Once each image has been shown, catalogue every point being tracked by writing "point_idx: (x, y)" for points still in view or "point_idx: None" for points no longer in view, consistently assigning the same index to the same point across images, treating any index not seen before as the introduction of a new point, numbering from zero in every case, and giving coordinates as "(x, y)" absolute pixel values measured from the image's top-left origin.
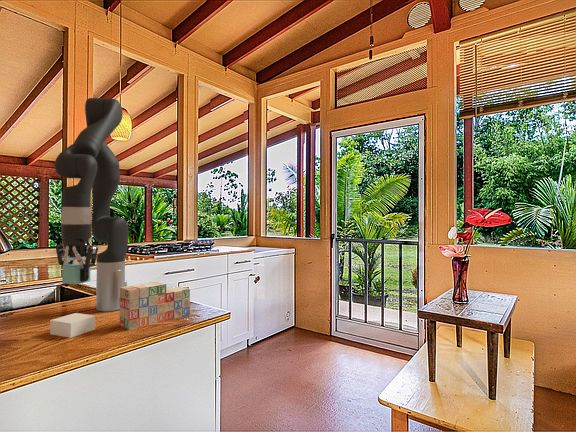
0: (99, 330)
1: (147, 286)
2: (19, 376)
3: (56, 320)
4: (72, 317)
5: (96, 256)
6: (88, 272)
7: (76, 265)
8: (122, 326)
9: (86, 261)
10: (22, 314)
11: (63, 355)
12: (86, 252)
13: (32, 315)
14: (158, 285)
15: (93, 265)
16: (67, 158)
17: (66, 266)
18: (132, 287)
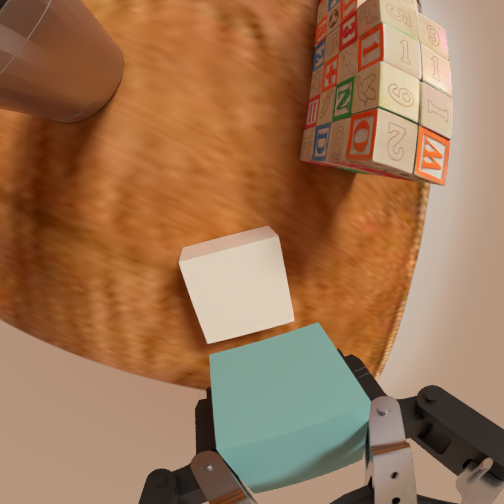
0: (290, 223)
1: (450, 100)
2: None
3: (226, 335)
4: (232, 294)
5: (484, 417)
6: (374, 381)
7: (321, 460)
8: (318, 164)
9: (430, 443)
10: None
11: (363, 340)
12: (424, 496)
13: (6, 276)
14: (448, 59)
15: (432, 392)
16: None
17: (290, 483)
18: (416, 133)
